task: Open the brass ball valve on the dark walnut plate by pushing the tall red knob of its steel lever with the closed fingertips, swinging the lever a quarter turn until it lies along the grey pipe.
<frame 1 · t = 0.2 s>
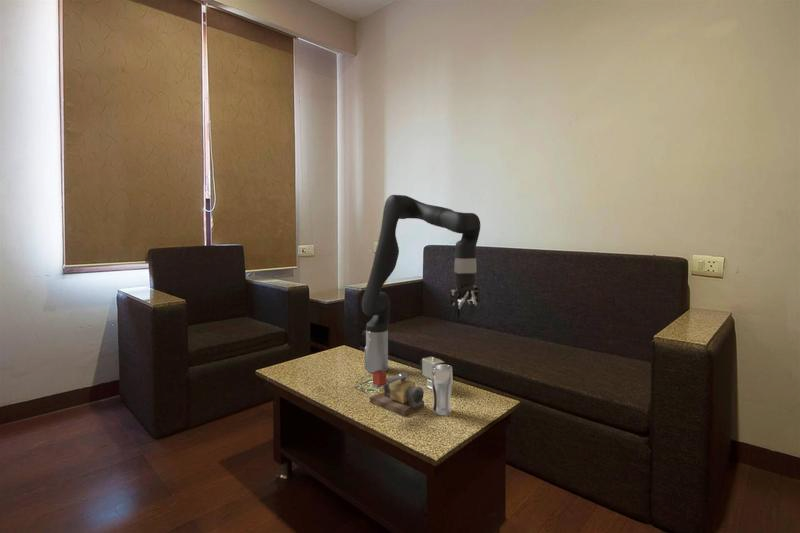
hand: (464, 317, 148), 29 cm above the table, tool pointing down, fingers open, 8 cm apart
beer glass: (441, 412, 140), on the table
valve lever: (391, 375, 140), point 12 cm above the table, hinge at 0.0°
pneumatic valve: (434, 388, 161), on the table
valve pipe: (403, 405, 145), on the table
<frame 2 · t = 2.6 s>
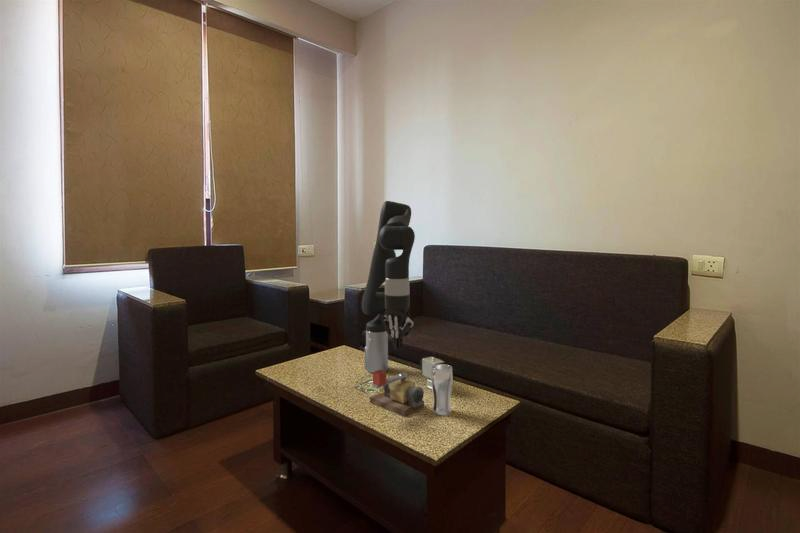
hand: (397, 349, 130), 24 cm above the table, tool pointing down, fingers closed
nothing on the table moved.
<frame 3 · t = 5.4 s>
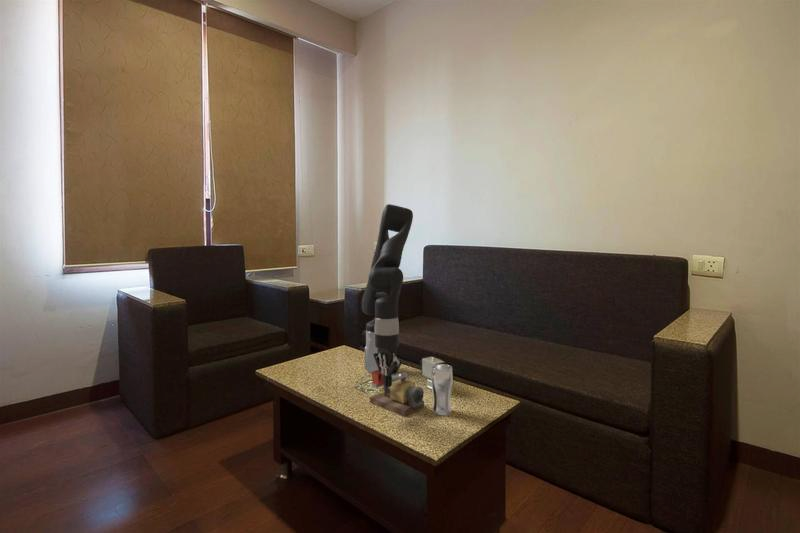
hand: (387, 386, 134), 11 cm above the table, tool pointing down, fingers closed
valve lever: (390, 375, 140), point 12 cm above the table, hinge at 2.0°, touching gripper
everything else where it was.
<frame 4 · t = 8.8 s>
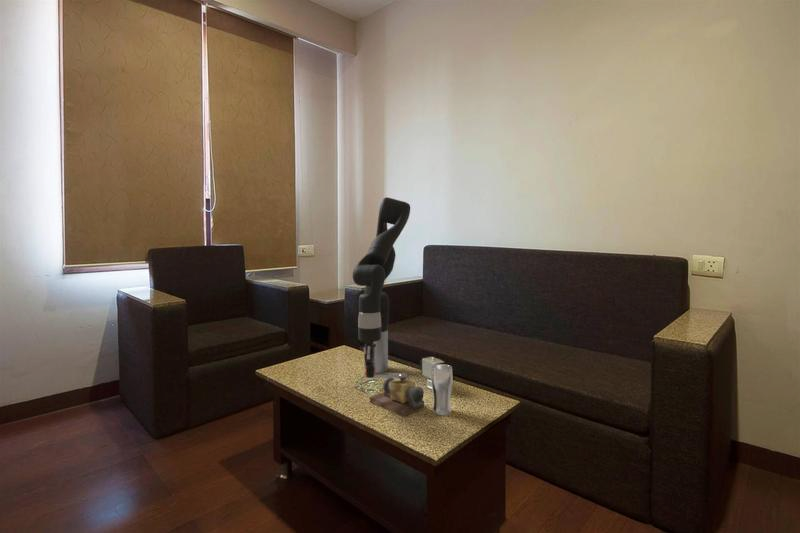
hand: (370, 377, 141), 11 cm above the table, tool pointing down, fingers closed
valve lever: (385, 370, 145), point 12 cm above the table, hinge at 51.0°, touching gripper
everything else where it was.
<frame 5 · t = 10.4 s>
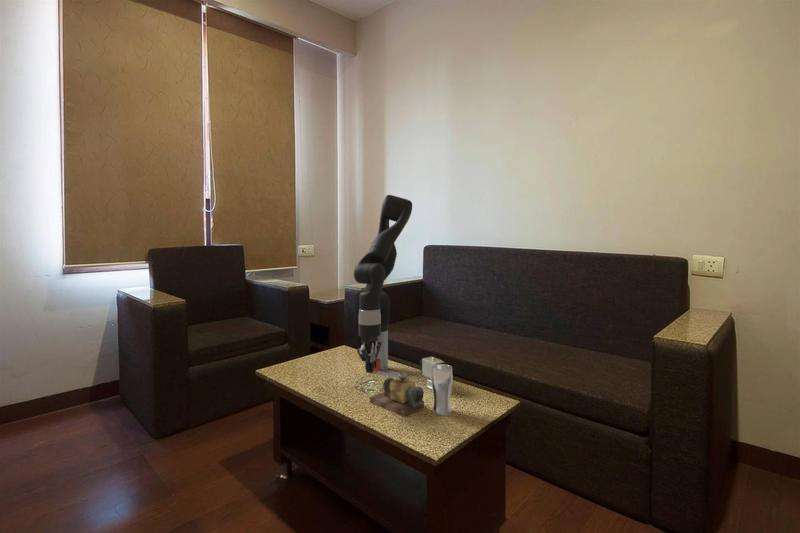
hand: (369, 372, 146), 11 cm above the table, tool pointing down, fingers closed
valve lever: (388, 368, 147), point 12 cm above the table, hinge at 74.2°, touching gripper
everything else where it was.
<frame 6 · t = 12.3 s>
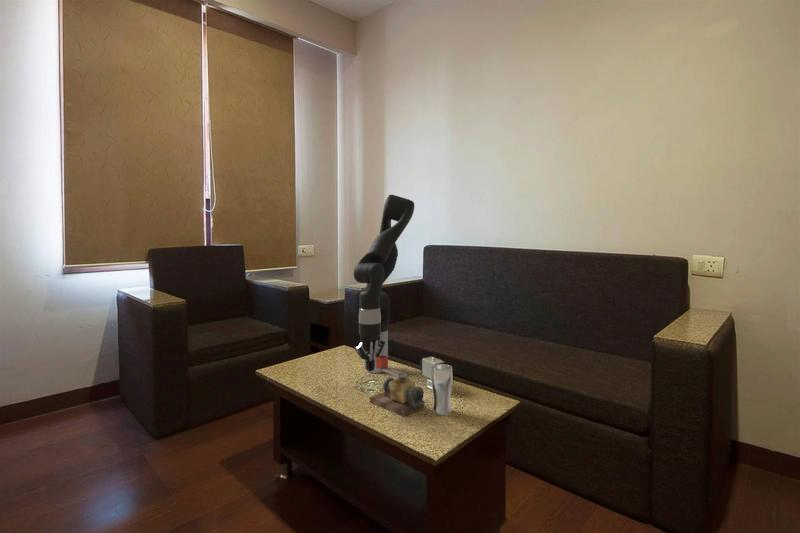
hand: (370, 370, 147), 11 cm above the table, tool pointing down, fingers closed
valve lever: (391, 366, 148), point 12 cm above the table, hinge at 94.2°
everything else where it was.
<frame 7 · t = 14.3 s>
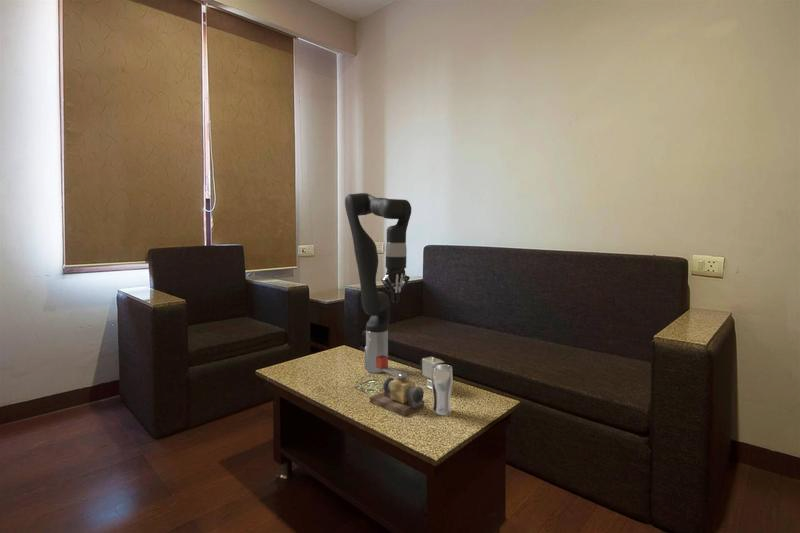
hand: (395, 302, 155), 33 cm above the table, tool pointing down, fingers closed
nothing on the table moved.
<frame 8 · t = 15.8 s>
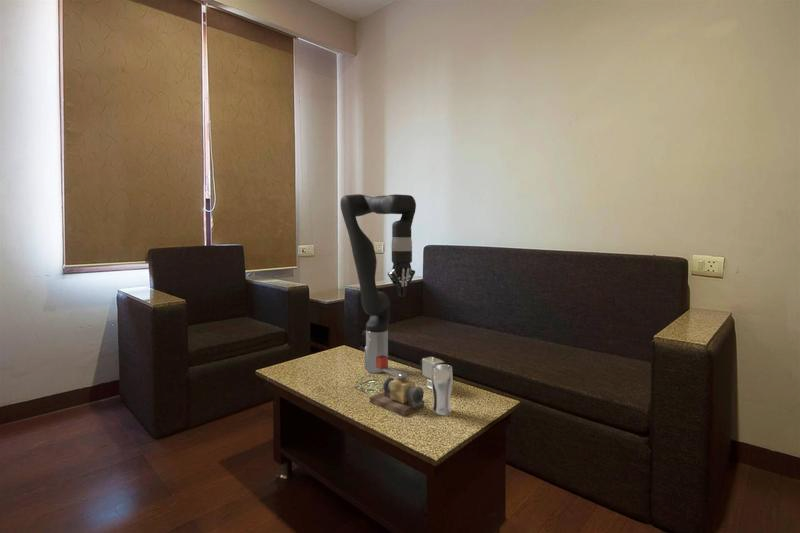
hand: (401, 296, 158), 35 cm above the table, tool pointing down, fingers closed
nothing on the table moved.
at the end: valve lever at +94° (first picture: +0°) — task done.
